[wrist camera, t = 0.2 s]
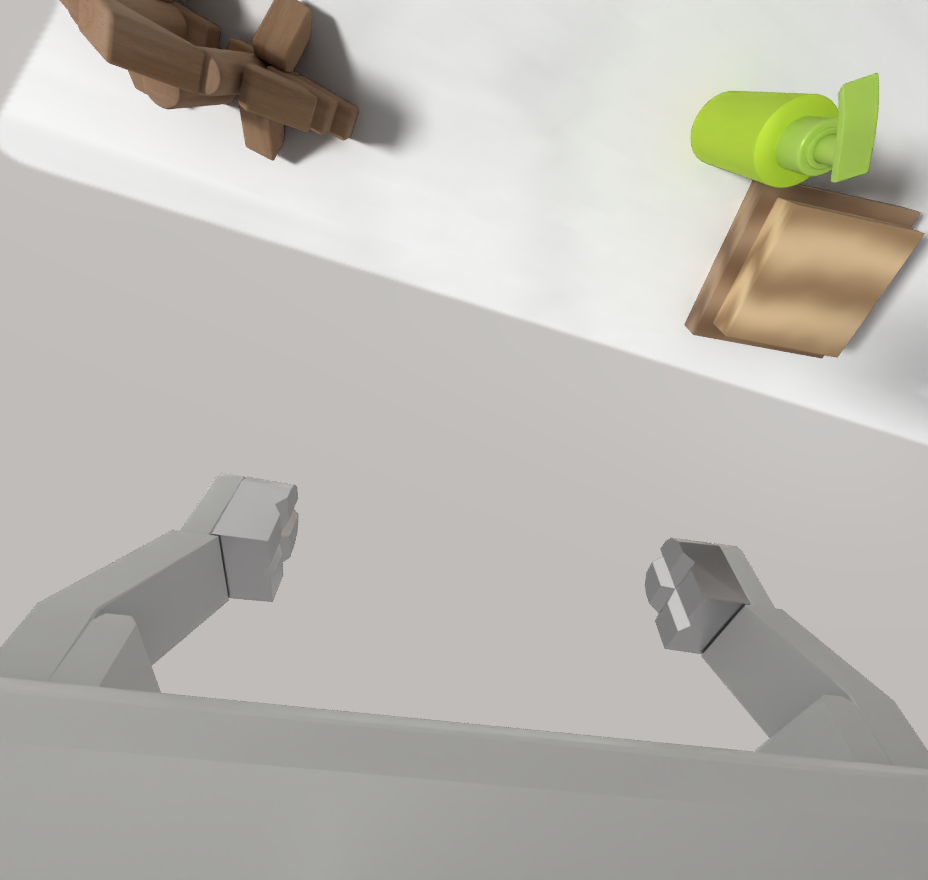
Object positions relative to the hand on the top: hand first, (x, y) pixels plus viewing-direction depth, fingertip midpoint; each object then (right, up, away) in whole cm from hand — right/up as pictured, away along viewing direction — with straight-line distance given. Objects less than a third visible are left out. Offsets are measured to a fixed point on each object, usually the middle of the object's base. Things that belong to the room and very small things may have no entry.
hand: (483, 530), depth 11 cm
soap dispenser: (+24, +32, +36) cm, 53 cm away
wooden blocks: (-22, +37, +33) cm, 54 cm away
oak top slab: (+35, +19, +41) cm, 57 cm away
